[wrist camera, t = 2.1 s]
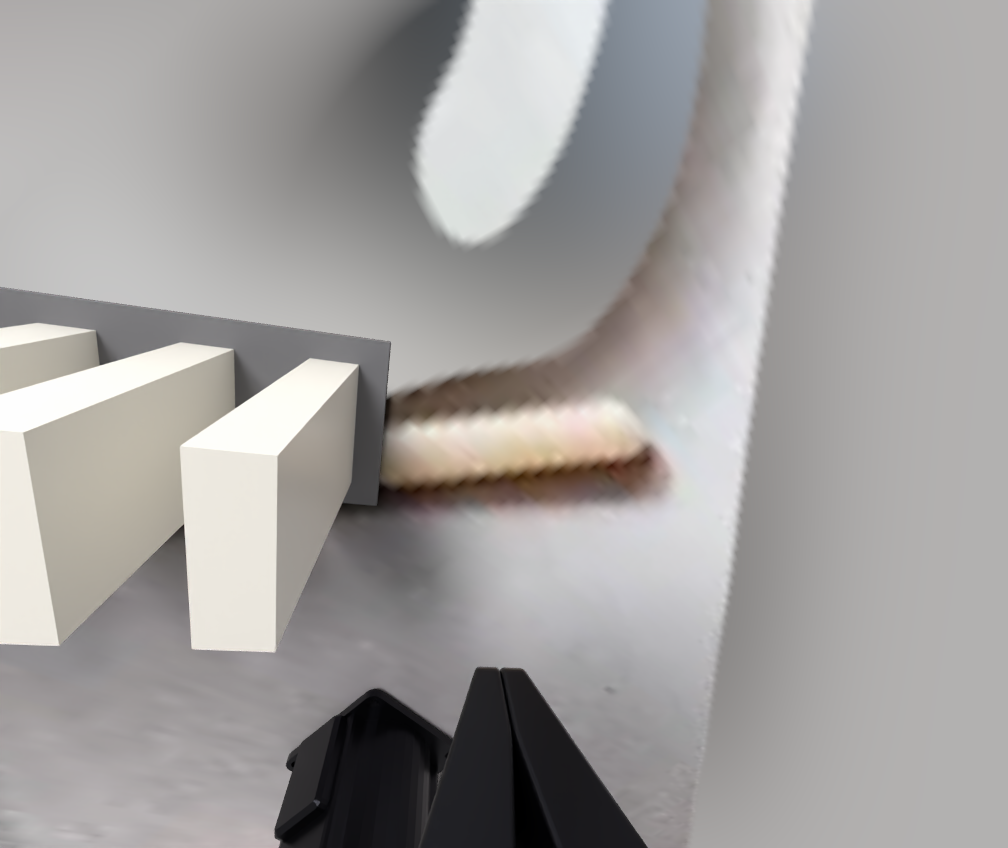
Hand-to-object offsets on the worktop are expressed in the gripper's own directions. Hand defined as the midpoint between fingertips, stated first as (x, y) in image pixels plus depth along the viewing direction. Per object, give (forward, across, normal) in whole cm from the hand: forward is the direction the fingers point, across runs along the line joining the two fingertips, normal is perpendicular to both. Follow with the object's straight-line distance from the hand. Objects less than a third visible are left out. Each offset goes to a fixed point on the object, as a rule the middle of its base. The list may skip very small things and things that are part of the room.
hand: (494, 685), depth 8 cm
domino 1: (+12, +5, 0) cm, 13 cm away
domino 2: (+12, +10, 0) cm, 15 cm away
